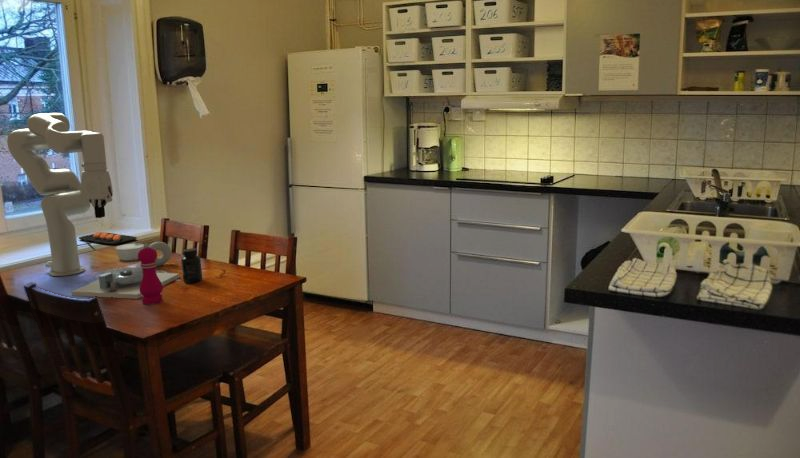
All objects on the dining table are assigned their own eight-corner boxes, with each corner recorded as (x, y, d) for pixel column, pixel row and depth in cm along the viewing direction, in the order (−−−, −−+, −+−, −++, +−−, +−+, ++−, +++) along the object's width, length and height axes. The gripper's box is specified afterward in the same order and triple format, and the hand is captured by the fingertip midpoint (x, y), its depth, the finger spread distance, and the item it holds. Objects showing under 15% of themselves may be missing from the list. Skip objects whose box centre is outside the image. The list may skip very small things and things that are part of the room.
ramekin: (151, 256, 283) (149, 244, 281) (128, 262, 273) (126, 250, 272) (134, 254, 288) (133, 242, 287) (111, 259, 279) (110, 247, 278)
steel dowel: (109, 292, 227) (107, 282, 226) (112, 290, 229) (111, 280, 228) (114, 292, 227) (112, 282, 226) (117, 290, 229) (116, 280, 228)
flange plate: (120, 270, 249) (119, 259, 248) (163, 272, 245) (161, 260, 244) (80, 287, 228) (78, 275, 227) (126, 289, 224) (124, 277, 223)
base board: (71, 295, 230) (70, 287, 229) (119, 275, 254) (118, 268, 254) (137, 298, 224) (136, 290, 223) (179, 277, 248) (178, 270, 248)
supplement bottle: (206, 279, 245) (203, 248, 242) (195, 284, 239) (192, 252, 236) (190, 278, 247) (187, 247, 245) (179, 283, 241) (176, 251, 238)
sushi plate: (140, 241, 316) (139, 233, 315) (81, 255, 291) (80, 246, 290) (103, 235, 331) (102, 228, 330) (45, 248, 307) (43, 240, 306)
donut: (148, 268, 263) (145, 244, 260) (145, 267, 265) (143, 242, 263) (173, 264, 268) (171, 240, 266) (170, 262, 271) (168, 239, 269)
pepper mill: (144, 298, 223) (138, 241, 219) (166, 297, 224) (160, 240, 220) (138, 305, 216) (131, 246, 212) (160, 304, 217) (154, 245, 213)
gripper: (70, 167, 235) (75, 218, 239) (106, 169, 232) (111, 220, 236) (84, 165, 242) (89, 214, 246) (120, 166, 239) (124, 216, 243)
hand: (100, 217), depth 241 cm, fingers closed
